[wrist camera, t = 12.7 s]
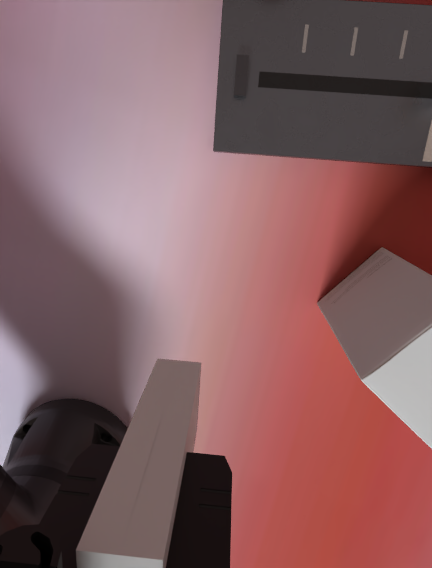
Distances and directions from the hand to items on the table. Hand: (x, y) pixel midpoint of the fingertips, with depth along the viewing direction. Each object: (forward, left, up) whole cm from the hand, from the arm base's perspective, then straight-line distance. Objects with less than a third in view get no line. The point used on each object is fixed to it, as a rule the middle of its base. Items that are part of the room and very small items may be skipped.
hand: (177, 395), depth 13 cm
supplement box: (+17, -5, -27) cm, 32 cm away
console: (+13, +15, -26) cm, 33 cm away
